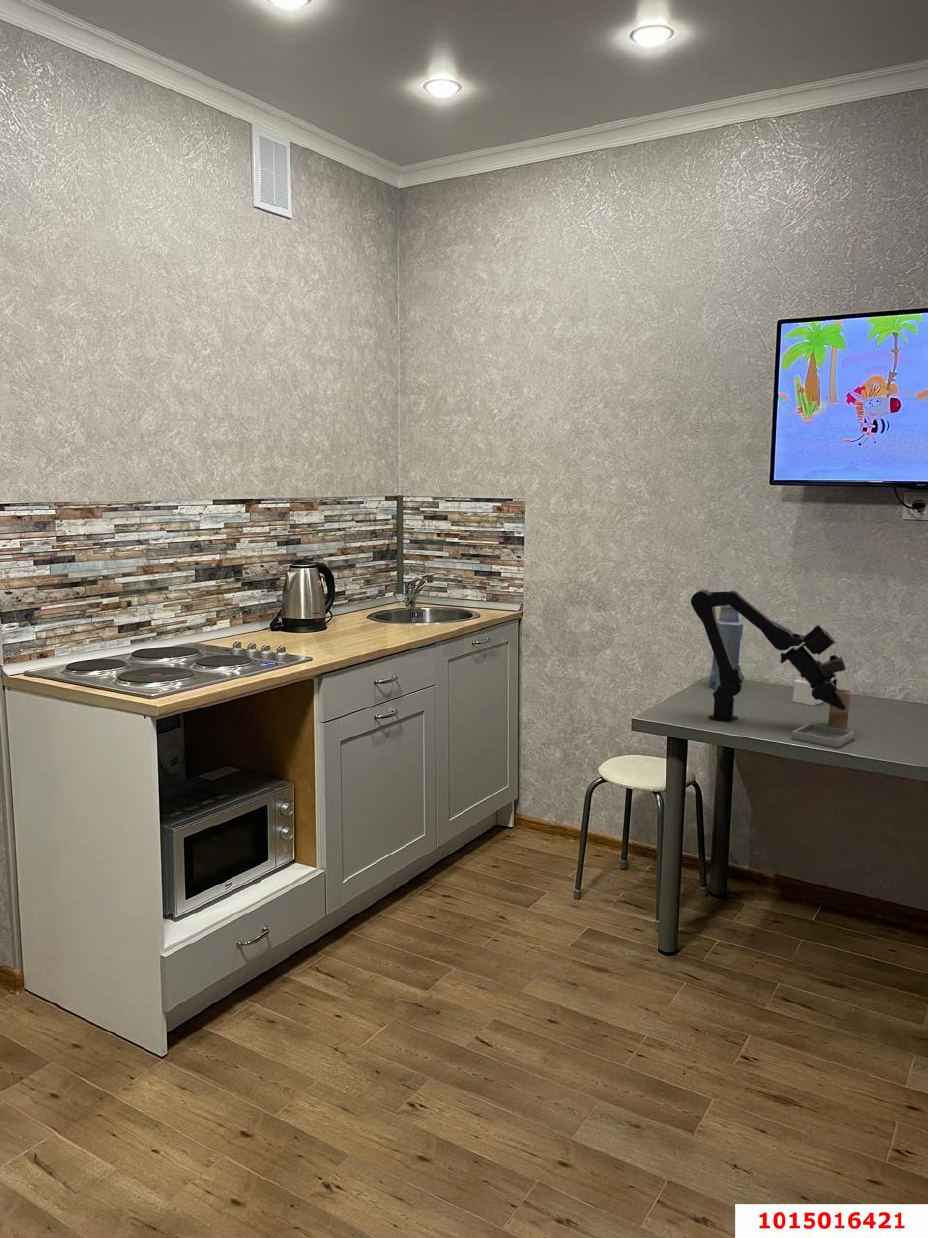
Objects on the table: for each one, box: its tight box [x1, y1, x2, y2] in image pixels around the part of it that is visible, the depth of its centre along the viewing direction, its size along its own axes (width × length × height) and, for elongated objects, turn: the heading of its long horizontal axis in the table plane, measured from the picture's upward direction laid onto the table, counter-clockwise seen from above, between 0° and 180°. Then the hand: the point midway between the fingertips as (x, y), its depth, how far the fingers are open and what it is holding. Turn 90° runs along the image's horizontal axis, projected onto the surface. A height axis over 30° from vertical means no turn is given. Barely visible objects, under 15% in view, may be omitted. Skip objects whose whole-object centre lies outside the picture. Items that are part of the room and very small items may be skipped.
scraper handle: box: [827, 688, 851, 730], centre depth 263 cm, size 5×5×11 cm
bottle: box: [708, 605, 744, 690], centre depth 316 cm, size 10×10×30 cm
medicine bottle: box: [792, 673, 824, 707], centre depth 298 cm, size 7×7×12 cm
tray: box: [791, 722, 856, 750], centre depth 255 cm, size 13×13×2 cm
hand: (844, 707), depth 262 cm, fingers closed on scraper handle, 5 cm apart
